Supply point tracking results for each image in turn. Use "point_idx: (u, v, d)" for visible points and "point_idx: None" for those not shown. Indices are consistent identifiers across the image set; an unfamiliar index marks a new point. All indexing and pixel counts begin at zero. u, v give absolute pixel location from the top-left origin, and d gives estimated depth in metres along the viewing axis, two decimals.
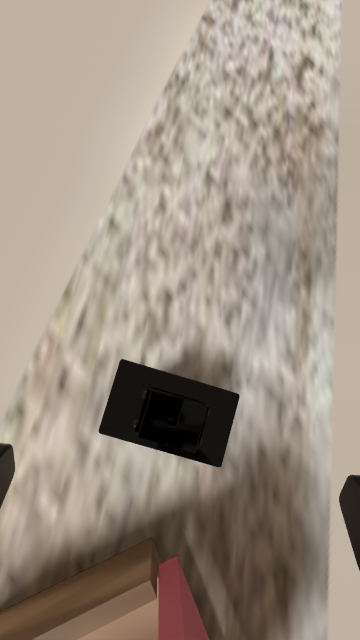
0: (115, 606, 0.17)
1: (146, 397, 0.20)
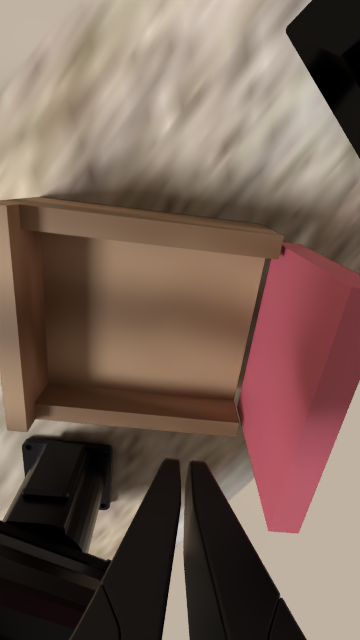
0: (232, 240, 0.13)
1: None
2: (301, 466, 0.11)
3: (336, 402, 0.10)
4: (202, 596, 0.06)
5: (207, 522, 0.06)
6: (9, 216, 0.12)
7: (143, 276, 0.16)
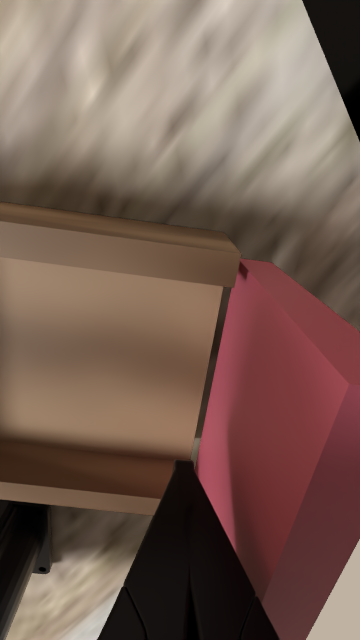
0: (163, 258, 0.09)
1: None
2: None
3: (318, 567, 0.06)
4: None
5: (187, 520, 0.06)
6: None
7: (56, 301, 0.12)
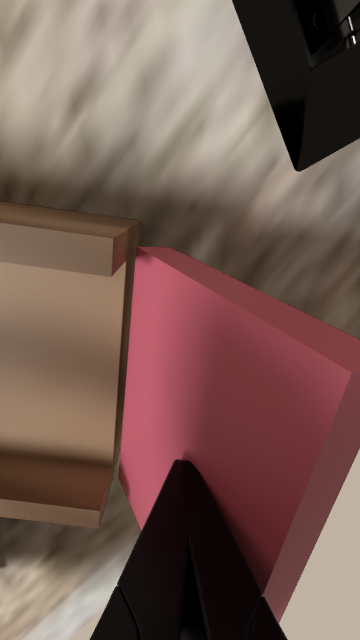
0: (28, 243, 0.08)
1: None
2: None
3: (308, 534, 0.06)
4: (186, 595, 0.06)
5: (192, 521, 0.06)
6: None
7: None
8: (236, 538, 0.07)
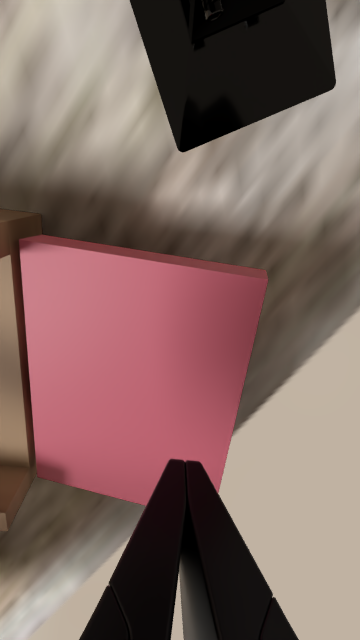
0: None
1: None
2: None
3: None
4: (195, 596, 0.06)
5: (201, 522, 0.06)
6: None
7: None
8: (209, 409, 0.11)
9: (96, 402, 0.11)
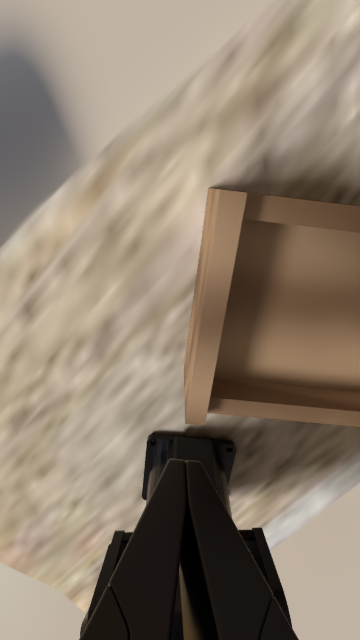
0: None
1: None
2: None
3: None
4: (195, 596, 0.06)
5: (201, 522, 0.06)
6: None
7: (323, 267, 0.16)
8: None
9: None
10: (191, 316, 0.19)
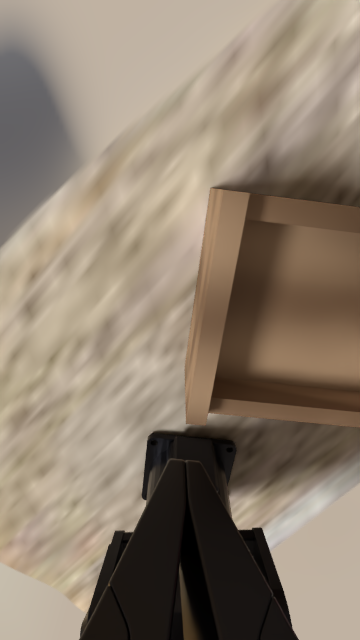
0: None
1: None
2: None
3: None
4: (195, 596, 0.06)
5: (201, 522, 0.06)
6: None
7: (325, 267, 0.16)
8: None
9: None
10: (192, 316, 0.19)
